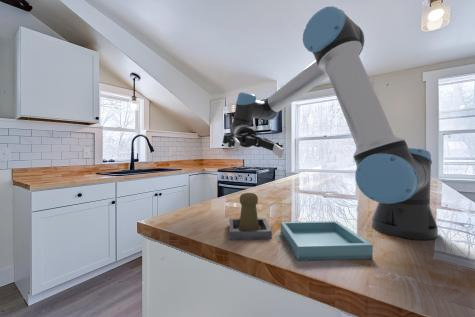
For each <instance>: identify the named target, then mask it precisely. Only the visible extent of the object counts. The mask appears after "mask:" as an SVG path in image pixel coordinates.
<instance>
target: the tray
mask: <svg viewBox="0 0 475 317" xmlns="http://www.w3.org/2000/svg"><path fill="white" fill-rule="evenodd" d="M280 234H281V235H282V237H283V239H284V240H285V242H286V244H287V245H288V246H289V249H290V250H291V252H292V253H293V255H294V256H295V258H296V260H297V261H301V262H302V261H303V262H304V261H331V260H332V261H333V260H339V261H340V260H341V261H342V260H372V259H373V254H374V252H373V244H372V243H370V242H369V241H368V240H366V239H365V238H363V237H361V236H360V235H358V234H357V233H355V232H354V231H353V230H351V229H350V228H348V227H346V226H345V225H343V223H340V222H339V221H337V220H323V221H322V220H321V221H320V220H319V221H317V220H315V221H280Z"/></svg>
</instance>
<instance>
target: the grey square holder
mask: <svg viewBox="0 0 475 317" xmlns="http://www.w3.org/2000/svg"><path fill="white" fill-rule="evenodd" d="M239 223H240V218H229V240H230V241H231V240H235V241H236V240H269V239H270V240H271V239H273V237H272V236H273V235H272V233H273V232H272V229H271V226H270V225H269V223H268V221H267V220H266V218H262V217H261V218H260V217H259V218H258V225H259V227H262V229H259V230H239V229H238V230H234V227H239Z"/></svg>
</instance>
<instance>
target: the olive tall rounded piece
mask: <svg viewBox="0 0 475 317" xmlns="http://www.w3.org/2000/svg"><path fill="white" fill-rule="evenodd" d="M258 202H259V198H258V196H257V194H256V193H254V192H244V193H241V194H240V196H239V203H240V205H241V209H240V215H239V219H240V223H239V226H238V230H260V226H259V225H258V212H257V204H258Z"/></svg>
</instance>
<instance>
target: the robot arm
mask: <svg viewBox="0 0 475 317" xmlns="http://www.w3.org/2000/svg"><path fill="white" fill-rule="evenodd" d="M302 44H303V46H304V48H305V49H306V50H307V51H308V52H309V53H312V54H313V56H314V61H313V62H312V63H311V64H309V65H308V66H306V68H304V69H303V70H302V71H301V72H299V73H298V74H297V75H296V76H295V75H294V77H293V78H292V79H290V80H289V81H288V82H287V83H285V84H284V85H283V86H282V87H281V88H279V89H278V90H276V91H275V92H274V93H273V94H271V95H270V96H269V97H267V98H266V99H265V100H264V101H262V100H258V99H257V95H256V94H252V93H247V92H239V93H238V94H237V95H238V96H237V98H236V103H235V108H234V109H235V111H234V116H233V119H232V123H231V124H230V127H229V131H230V132H229V133H226V134H224V135H223V138H222V139H223V140H222V144H224V145H225V144H226V145H227V144H228V145H227V147H228V148H233V149H234V151H235V152H239V150H240V146H241V147H242V148H251V147H255V148H263V149H266V150H269V151H272V153H273V154H274V155H276V156H277V157H278V158H280V159H282V158H283V154H284V148H283V147H284V145H283V144H281V143H280V142H279V141H278V142H277V141H276V142H275V141H273V140H270V139H268V138H267V137H260V136H258V135H257V132H256V131H255V130H254V128H252V127H251V124H252V120H253V119H260V120H266V121H270V120H271V121H272V120H275V119H277V117H278V116H279V113H280V111H282V110H283V109H285V108H286V107H287V106H290V104H291V103H293V102H294V101H296V100H297V99H298V100H299V98H300V97H302V96H304V95H305V94H306V93H308V92H309V91H310V90H312V89H314V88H315V87H317V86H318V85H319V84H322V82H324V81H325V80H326V79H328V78H329V82H330V84H331V85H332V88H333V91H334V93H335V96H336V99H337V101H338V104H339V106H340V109H341V112H342V114H343V116H344V119H345V121H346V124H347V126H348V129H349V132H350V134H351V136H352V139H353V141H354V144H355V146H356V148H355V151H354V153H353V156H352V157H353V158H354V162H355V164H356V166H357V167H356V170H355V174H354V176H355V177H354V178H355V182H356V185H357V188H358V189H359V190H360V192H361V193H362V194H363V195H364V196H365V197H367V198H368V199H370V200H372V201H375V202H377V205H376V208H375V211H374V212H373V215H372V217H371V218H372V219H371V226H372V227H373V229H375V230H377V231H378V232H381V233H383V234H386V235H389V236H394V237H398V238H403V239H409V240H419V241H426V240H428V241H429V240H434V239H436V238H438V233H439V232H438V231H439V229H438V225H437V222H436V220H435V218H434V217H435V216H434V215H433V212H432V209H431V175H432V174H431V172H432V171H431V170H432V164H433V160H432V154H431V152H430V151H429V150H426V149H421V148H412V147H408V144H407V142H406V140H405V139H404V138H401V137H399V136H397V135H395V134H394V131H393V130H392V128H391V127H392V126H391V125H390V122H389V120H388V118H387V116H386V114H385V111H384V109H383V107H382V105H381V102H380V101H379V99H378V95H377V93H376V91H375V89H374V87H373V84H372V82H371V79H370V77H369V75H368V73H367V70H366V69H365V67H364V64H363V62H362V60H361V58H360V55H361V53H362V52H363V49H364V46H365V35H364V31H363V29H362V28H361V27H360V26H359V25H358V24H356V22H354V21H353V20H352V19H351V18H350V17H349V16H348V15H347V14H346V13H345V11H344V10H342V9H341V8H338V7H336V6H334V5H331V6H325V7H323V8H321V9H319V10H318V11H316V12H315V13H314V14H313V15H312V16H311V17H310V19H309V20H308V22H307V23H306V25H305V28H304V29H303V34H302Z"/></svg>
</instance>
